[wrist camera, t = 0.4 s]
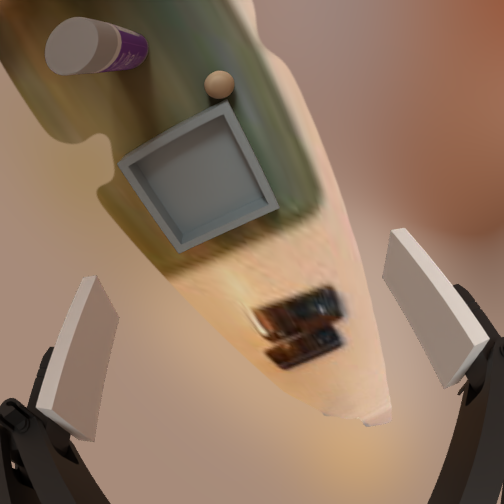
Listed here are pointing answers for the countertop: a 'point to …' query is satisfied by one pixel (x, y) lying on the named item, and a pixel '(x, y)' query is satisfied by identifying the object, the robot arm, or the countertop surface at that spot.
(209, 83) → the ball
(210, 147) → the tray
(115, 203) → the countertop surface
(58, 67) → the container
